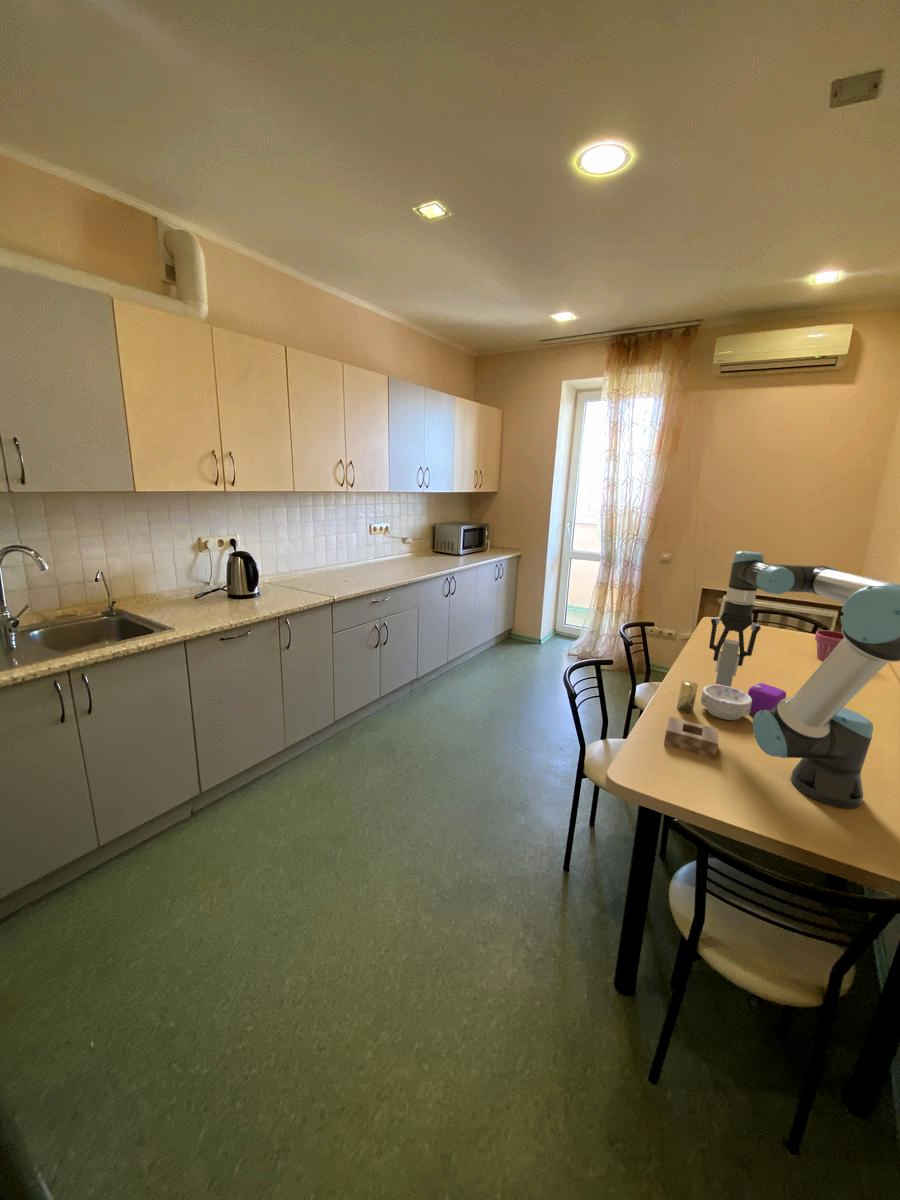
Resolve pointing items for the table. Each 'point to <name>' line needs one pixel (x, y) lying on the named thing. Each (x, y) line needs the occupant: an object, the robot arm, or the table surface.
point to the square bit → (727, 662)
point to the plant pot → (827, 642)
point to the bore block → (692, 737)
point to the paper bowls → (726, 702)
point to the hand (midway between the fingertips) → (725, 672)
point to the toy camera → (765, 697)
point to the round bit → (687, 696)
